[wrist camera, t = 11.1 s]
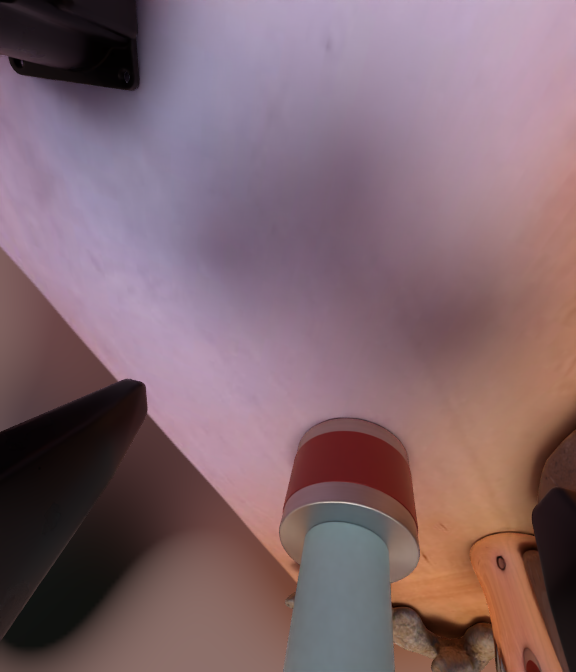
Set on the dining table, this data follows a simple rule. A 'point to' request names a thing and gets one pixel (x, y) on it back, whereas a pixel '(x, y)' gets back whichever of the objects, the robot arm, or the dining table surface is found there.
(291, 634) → the aqua bottle
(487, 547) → the beer glass
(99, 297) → the dining table surface
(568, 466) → the pottery
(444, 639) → the rock
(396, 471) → the tin
